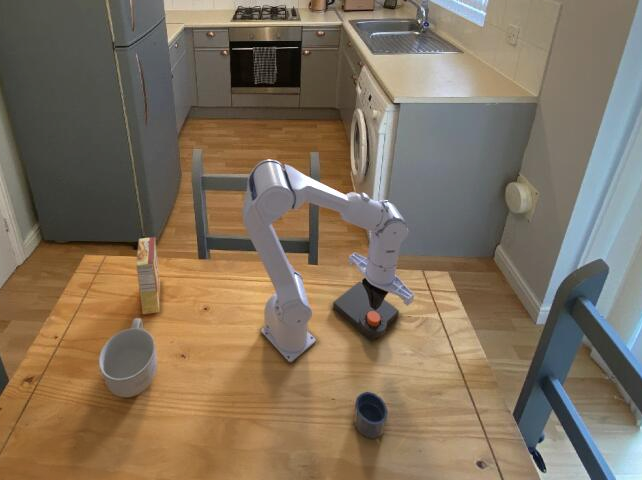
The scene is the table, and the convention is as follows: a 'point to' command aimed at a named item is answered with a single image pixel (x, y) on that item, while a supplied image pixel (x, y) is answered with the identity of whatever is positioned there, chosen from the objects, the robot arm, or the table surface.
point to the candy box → (148, 275)
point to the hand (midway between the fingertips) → (375, 306)
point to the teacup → (129, 361)
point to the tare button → (373, 319)
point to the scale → (364, 311)
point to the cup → (370, 415)
